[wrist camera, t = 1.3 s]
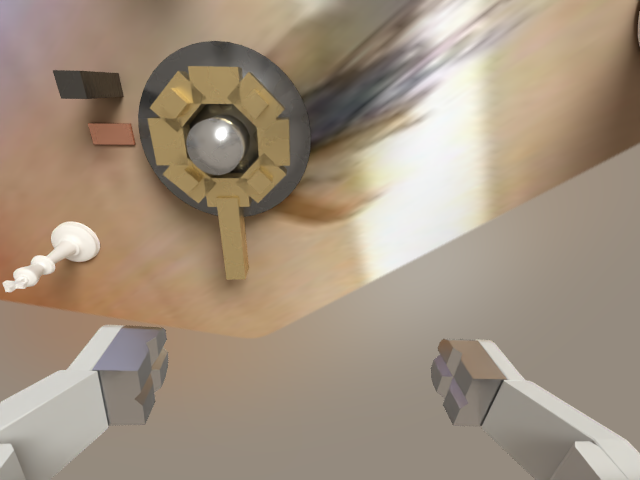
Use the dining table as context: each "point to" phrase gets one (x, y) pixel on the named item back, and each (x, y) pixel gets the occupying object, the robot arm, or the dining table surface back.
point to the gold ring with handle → (231, 188)
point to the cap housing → (205, 118)
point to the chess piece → (57, 254)
